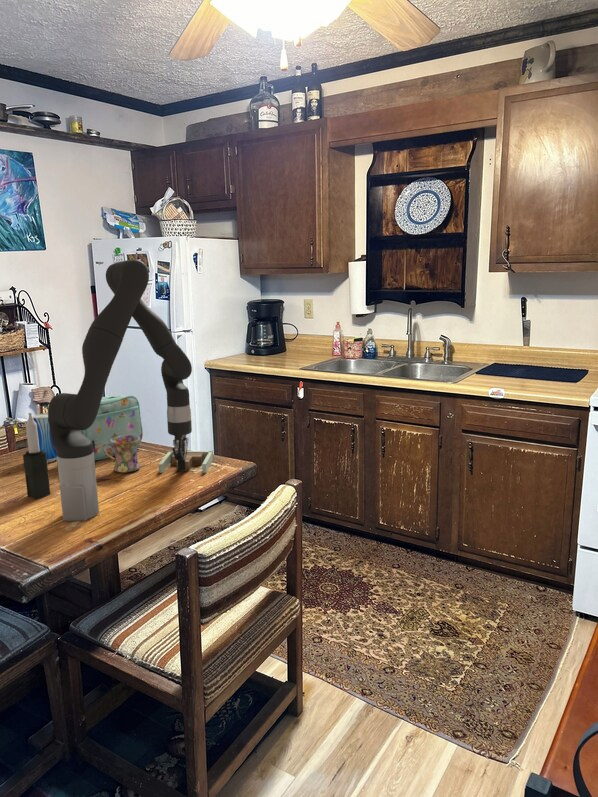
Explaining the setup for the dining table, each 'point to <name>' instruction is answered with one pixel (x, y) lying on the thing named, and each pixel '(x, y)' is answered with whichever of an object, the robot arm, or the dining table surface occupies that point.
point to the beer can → (45, 436)
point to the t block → (190, 460)
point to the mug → (125, 453)
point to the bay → (206, 454)
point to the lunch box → (114, 423)
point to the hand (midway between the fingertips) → (182, 470)
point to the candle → (35, 464)
